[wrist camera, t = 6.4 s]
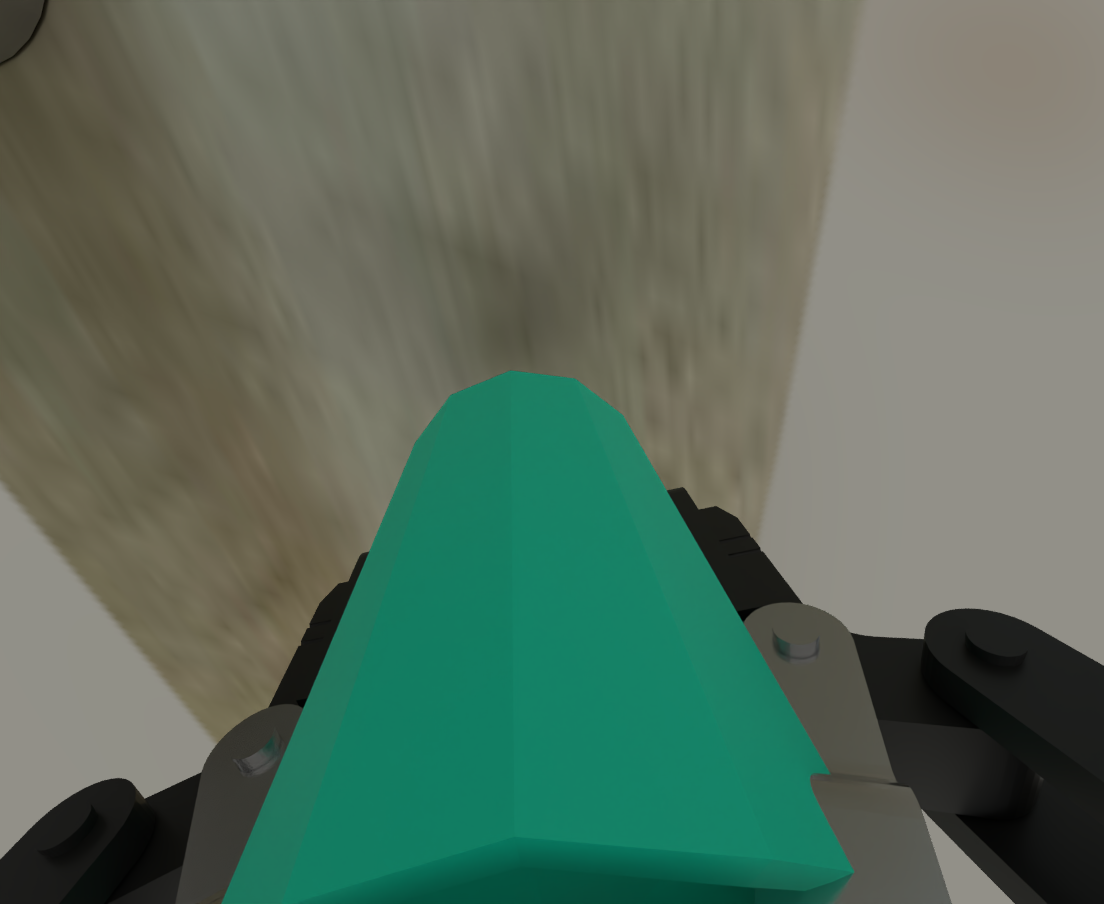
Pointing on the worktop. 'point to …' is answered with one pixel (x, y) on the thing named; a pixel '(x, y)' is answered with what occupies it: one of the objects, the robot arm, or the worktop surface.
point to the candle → (538, 692)
